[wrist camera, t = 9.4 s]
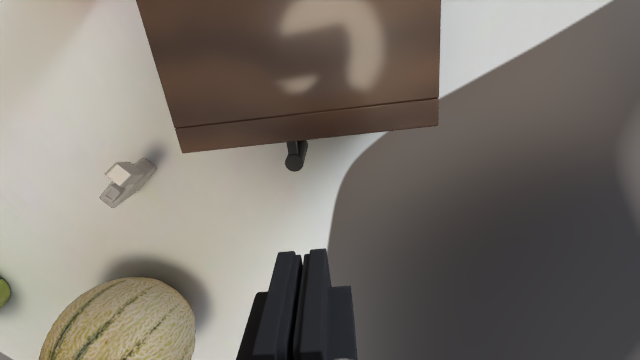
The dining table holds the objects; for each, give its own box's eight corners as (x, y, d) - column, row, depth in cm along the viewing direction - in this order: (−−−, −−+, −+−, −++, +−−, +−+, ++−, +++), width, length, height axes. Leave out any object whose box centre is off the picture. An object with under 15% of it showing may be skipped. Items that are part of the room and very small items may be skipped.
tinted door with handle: (237, 112, 31) (202, 135, 23) (320, 102, 30) (315, 123, 22) (245, 148, 32) (215, 183, 24) (325, 140, 32) (322, 172, 23)
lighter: (137, 191, 36) (87, 228, 29) (124, 181, 36) (70, 216, 28) (172, 150, 34) (128, 178, 27) (159, 139, 34) (111, 164, 26)
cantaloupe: (235, 308, 43) (188, 433, 29) (162, 351, 46) (90, 480, 33) (153, 231, 38) (52, 335, 25) (80, 286, 42) (-44, 402, 28)
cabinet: (206, 13, 29) (133, -6, 18) (400, -15, 27) (442, -54, 17) (230, 119, 33) (181, 153, 22) (403, 99, 31) (438, 125, 21)
